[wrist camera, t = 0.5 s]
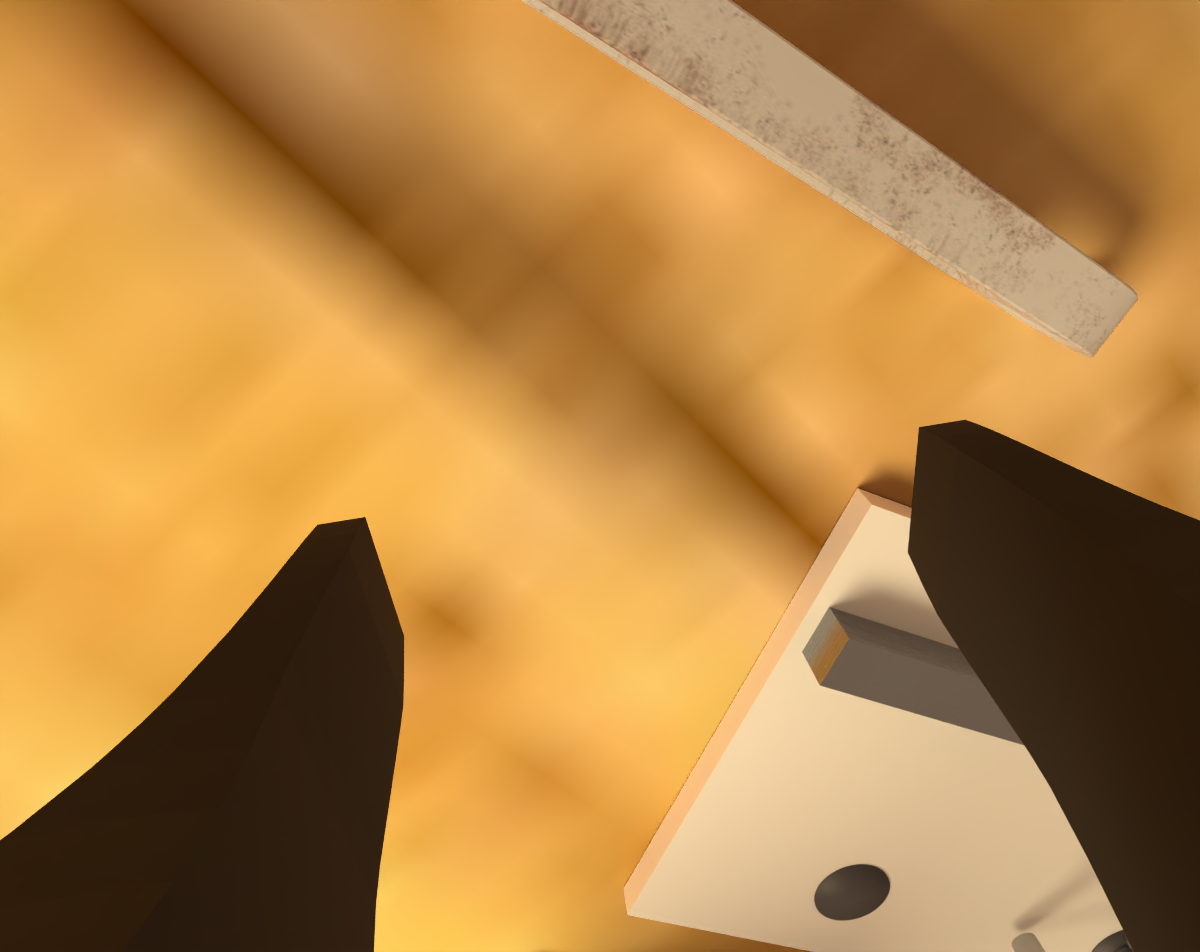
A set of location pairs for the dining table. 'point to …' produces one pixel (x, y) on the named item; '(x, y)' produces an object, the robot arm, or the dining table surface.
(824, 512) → the dining table surface
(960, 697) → the bar
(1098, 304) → the wrench
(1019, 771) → the hole plate
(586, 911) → the dining table surface
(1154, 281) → the dining table surface
